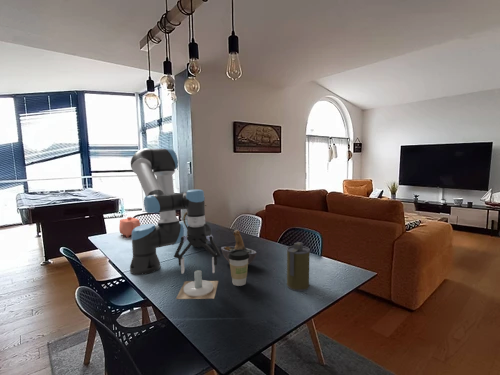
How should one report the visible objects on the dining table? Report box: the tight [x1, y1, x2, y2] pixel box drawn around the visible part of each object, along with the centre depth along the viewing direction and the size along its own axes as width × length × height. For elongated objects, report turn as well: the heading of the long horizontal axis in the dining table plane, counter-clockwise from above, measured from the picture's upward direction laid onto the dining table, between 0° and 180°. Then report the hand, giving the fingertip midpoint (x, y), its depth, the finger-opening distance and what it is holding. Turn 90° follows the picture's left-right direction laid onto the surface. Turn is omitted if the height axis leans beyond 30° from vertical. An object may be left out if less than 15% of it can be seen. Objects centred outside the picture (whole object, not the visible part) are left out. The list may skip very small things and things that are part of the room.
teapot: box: [119, 216, 141, 238], centre depth 206 cm, size 22×13×14 cm, turn 46°
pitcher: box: [182, 205, 212, 248], centre depth 176 cm, size 11×19×30 cm, turn 131°
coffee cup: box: [228, 249, 249, 287], centre depth 123 cm, size 10×10×15 cm
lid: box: [184, 269, 213, 297], centre depth 118 cm, size 13×13×8 cm
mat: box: [175, 280, 219, 300], centre depth 118 cm, size 16×16×1 cm
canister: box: [286, 241, 311, 292], centre depth 120 cm, size 11×10×20 cm
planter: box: [220, 229, 257, 265], centre depth 145 cm, size 15×17×20 cm
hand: (198, 272), depth 117 cm, fingers open, 13 cm apart
